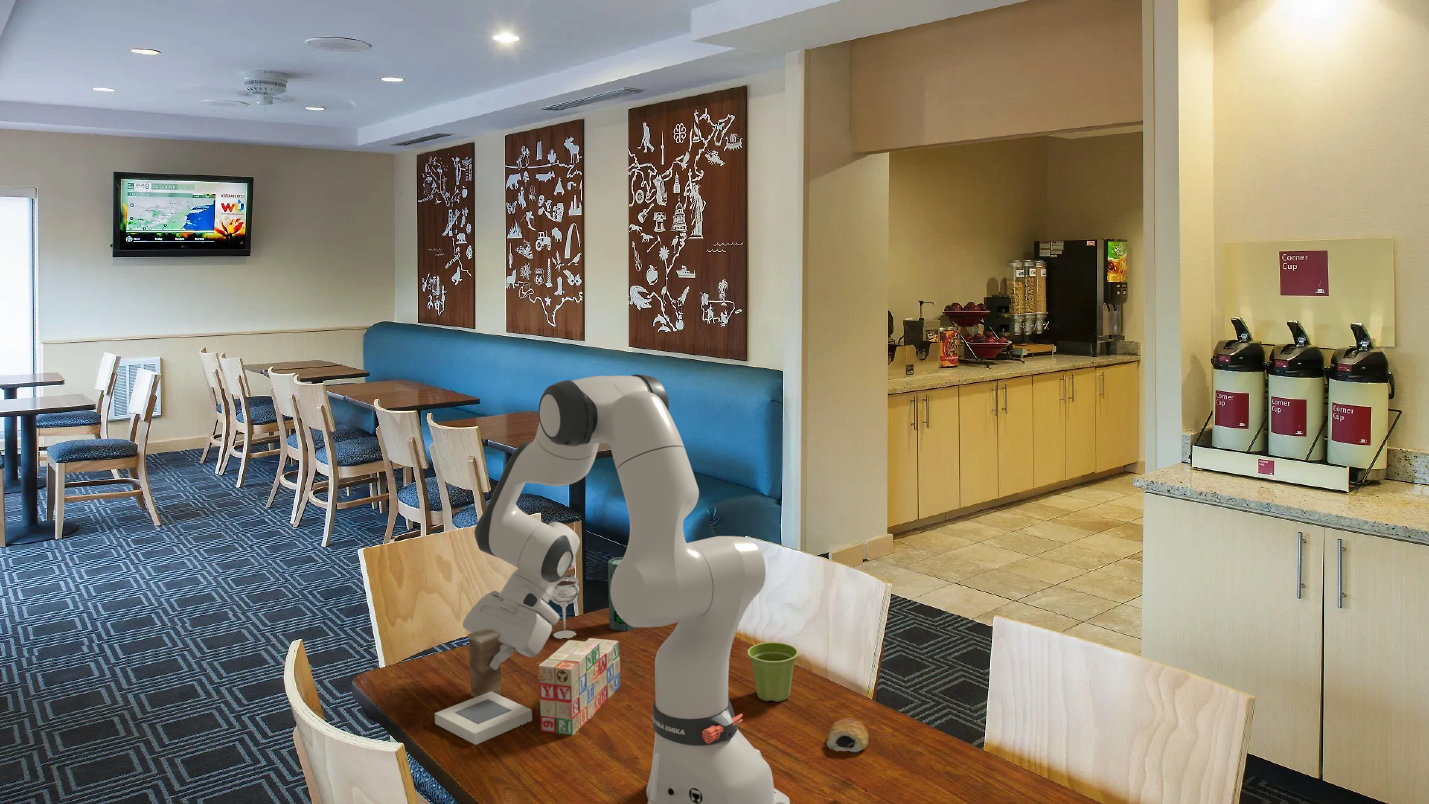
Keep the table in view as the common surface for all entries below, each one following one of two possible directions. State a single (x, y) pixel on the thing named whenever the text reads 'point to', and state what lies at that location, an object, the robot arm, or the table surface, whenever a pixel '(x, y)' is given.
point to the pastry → (848, 735)
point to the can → (614, 618)
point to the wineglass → (565, 601)
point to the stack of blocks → (577, 683)
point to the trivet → (483, 717)
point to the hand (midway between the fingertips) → (482, 664)
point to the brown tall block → (484, 662)
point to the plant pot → (773, 669)
